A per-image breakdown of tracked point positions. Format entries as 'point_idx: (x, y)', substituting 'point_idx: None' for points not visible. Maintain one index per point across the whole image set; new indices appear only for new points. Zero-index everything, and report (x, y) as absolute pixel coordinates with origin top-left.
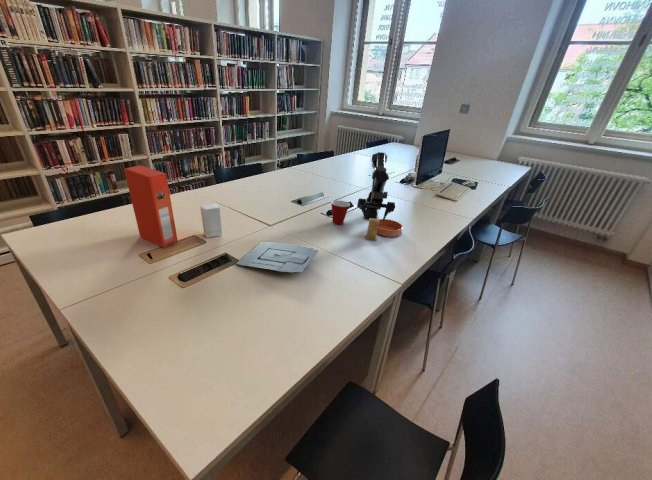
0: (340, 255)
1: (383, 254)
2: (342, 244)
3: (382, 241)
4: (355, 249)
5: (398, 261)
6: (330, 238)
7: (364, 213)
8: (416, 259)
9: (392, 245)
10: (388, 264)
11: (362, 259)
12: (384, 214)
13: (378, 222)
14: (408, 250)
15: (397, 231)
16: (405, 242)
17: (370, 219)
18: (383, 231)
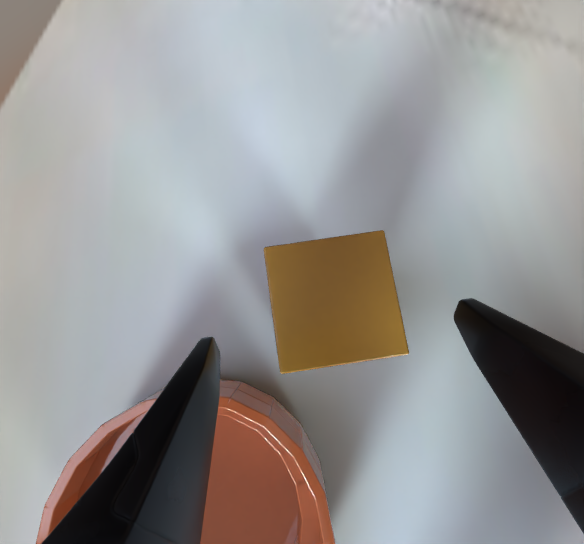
0: (432, 14)
1: (208, 118)
2: (463, 135)
3: (228, 290)
4: (373, 108)
5: (122, 77)
6: (560, 180)
7: (554, 344)
8: (16, 139)
9: (158, 259)
10: (174, 27)
11: (312, 21)
12: (174, 430)
13: (267, 249)
14: (54, 233)
15: (97, 433)
16: (66, 349)
17: (388, 303)
18: (225, 390)
